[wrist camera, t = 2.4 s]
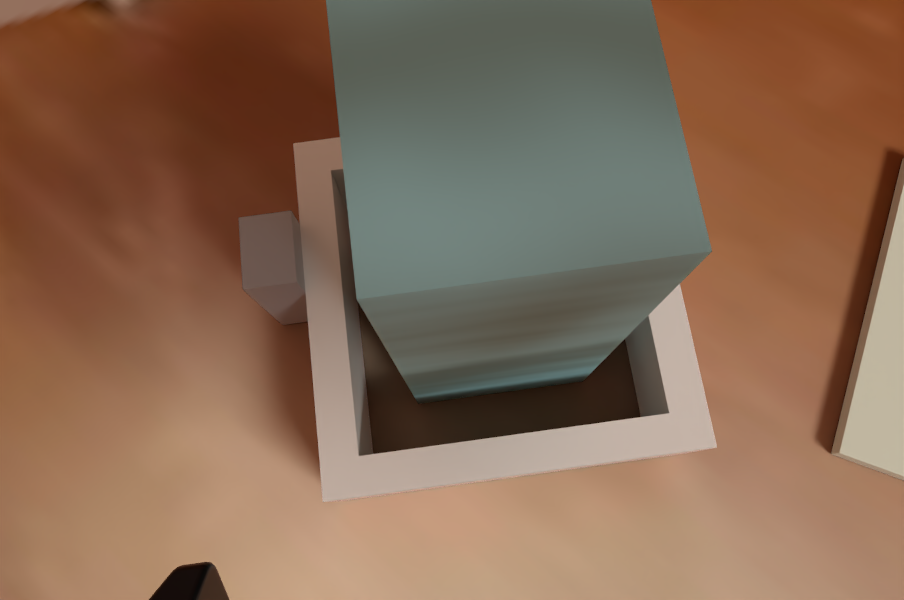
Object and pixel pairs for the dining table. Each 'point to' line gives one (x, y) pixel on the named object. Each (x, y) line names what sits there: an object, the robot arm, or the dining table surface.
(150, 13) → the dining table surface
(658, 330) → the collar
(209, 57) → the dining table surface
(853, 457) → the mat
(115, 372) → the dining table surface
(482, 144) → the post
